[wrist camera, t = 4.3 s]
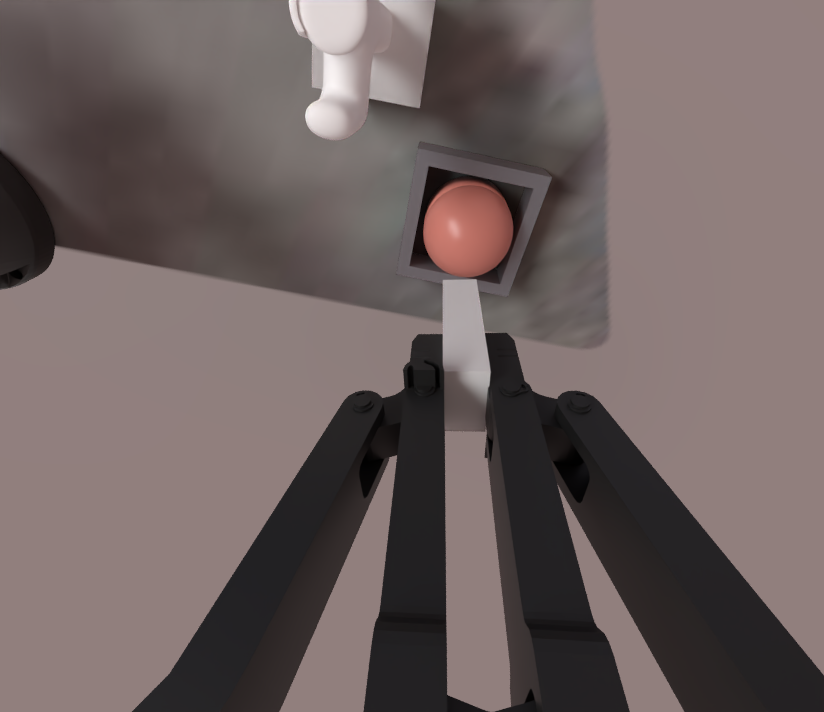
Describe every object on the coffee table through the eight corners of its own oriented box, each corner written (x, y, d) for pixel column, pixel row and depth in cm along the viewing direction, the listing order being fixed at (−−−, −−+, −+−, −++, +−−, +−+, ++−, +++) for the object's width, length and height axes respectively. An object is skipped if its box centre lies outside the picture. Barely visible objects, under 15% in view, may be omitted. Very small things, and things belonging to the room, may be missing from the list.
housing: (399, 260, 37) (395, 274, 34) (420, 141, 31) (417, 148, 28) (503, 281, 37) (507, 296, 35) (544, 168, 31) (552, 177, 29)
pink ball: (418, 248, 36) (412, 282, 30) (434, 166, 32) (432, 188, 26) (493, 263, 36) (501, 300, 31) (519, 184, 32) (534, 210, 27)
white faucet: (446, -55, 24) (445, -168, 12) (419, 120, 30) (401, 159, 18) (329, -80, 24) (212, -220, 12) (325, 102, 30) (242, 129, 18)
